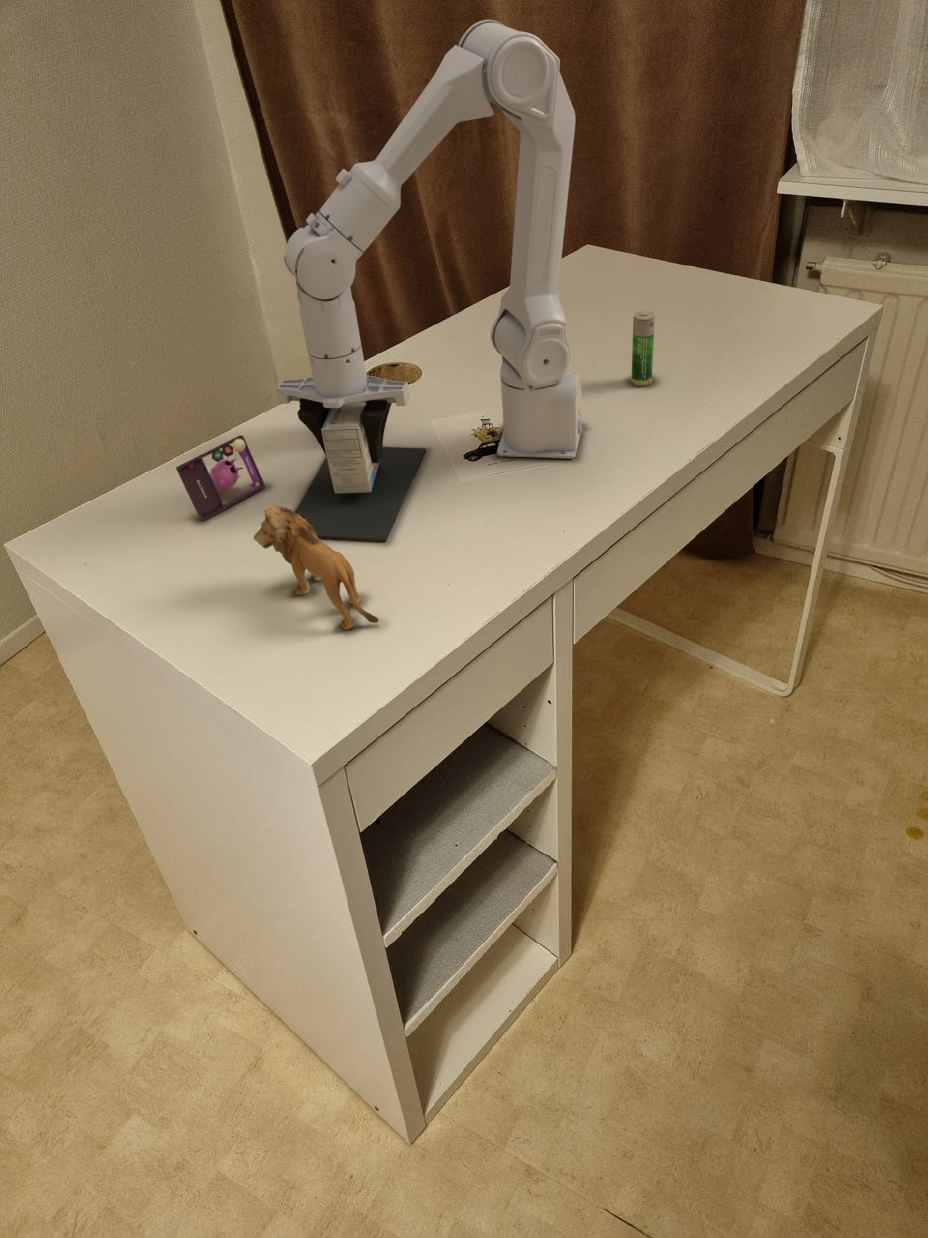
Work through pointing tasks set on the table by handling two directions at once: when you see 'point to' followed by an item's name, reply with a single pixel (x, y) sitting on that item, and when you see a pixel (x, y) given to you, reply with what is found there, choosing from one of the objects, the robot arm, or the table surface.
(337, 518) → the mat
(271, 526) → the lion figurine
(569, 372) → the robot arm
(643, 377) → the battery
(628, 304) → the table surface
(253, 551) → the table surface
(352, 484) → the medicine box
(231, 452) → the game card
